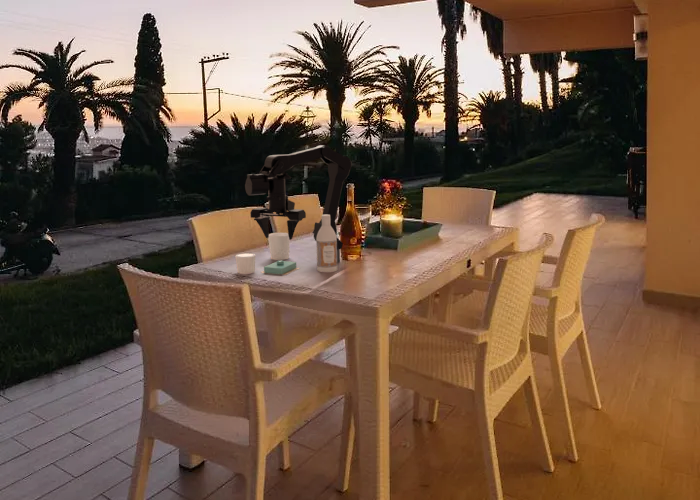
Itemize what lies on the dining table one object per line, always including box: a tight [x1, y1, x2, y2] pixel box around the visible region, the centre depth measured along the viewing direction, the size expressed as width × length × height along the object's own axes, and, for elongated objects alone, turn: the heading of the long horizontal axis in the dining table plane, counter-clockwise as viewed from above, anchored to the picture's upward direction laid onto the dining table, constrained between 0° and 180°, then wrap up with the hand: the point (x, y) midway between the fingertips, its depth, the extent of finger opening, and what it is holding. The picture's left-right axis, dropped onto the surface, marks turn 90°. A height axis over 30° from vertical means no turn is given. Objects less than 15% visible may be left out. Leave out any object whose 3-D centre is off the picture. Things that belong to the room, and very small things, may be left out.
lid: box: [263, 260, 297, 275], centre depth 207 cm, size 7×10×3 cm
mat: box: [260, 267, 301, 276], centre depth 207 cm, size 10×10×1 cm
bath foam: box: [315, 214, 338, 273], centre depth 205 cm, size 7×7×20 cm
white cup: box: [268, 232, 291, 261], centre depth 226 cm, size 8×8×10 cm
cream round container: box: [234, 252, 256, 275], centre depth 205 cm, size 7×7×7 cm
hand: (278, 238), depth 205 cm, fingers open, 9 cm apart
